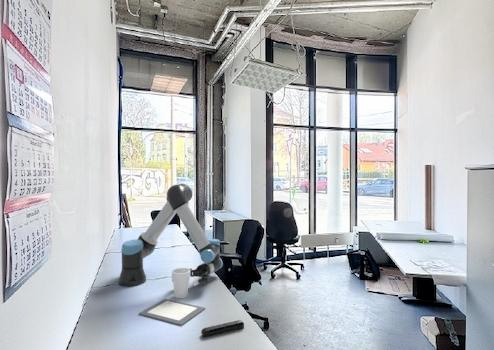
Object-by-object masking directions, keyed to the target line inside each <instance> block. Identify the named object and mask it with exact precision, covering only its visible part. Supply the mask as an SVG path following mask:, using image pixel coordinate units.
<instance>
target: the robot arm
mask: <svg viewBox="0 0 494 350" xmlns="http://www.w3.org/2000/svg"><path fill="white" fill-rule="evenodd" d="M193 195H194V194H193V189H192V187H190V185H188V184H186V183H179V184H173V185H171V186H170V187H169V188H168V190H167V192H166V203H165V204H164V205H163V207H162V208H161V210H160V211H159V212H158V214H157V216H155V219H153V221H152V222H151V224H150V225H149V226H148V228H147V229H146V231H143V232H141V234H139V236H138V237H137V239H130V240H127V241H125V242H123V243H122V244H121V251H120V252H121V271H120V273H119V274H120V275H119V278H118V285H119V286H122V287H134V286H139V285H141V284H145V282H146V281H147V275H146V273H145V270H144V259H145V258H146V257H149V256H150V255H152V253H154V251H155V249H156V246H157V245H158V243H159V242H158V239H159V237H161V234H163V232H164V231H165V229H166V228H167V227H168V225H169V224H170V222H171V221H172V220H173V218H174V217H175V215H176V214H177V216H178V217H179V219H180V221H181V222H182V224H183V227H184V228H185V229H186V231H187V232H188V234H189V236H190V238H191V239H192V242H194V245H195V246H196V248H197V250H198V251H199V253H200V259H201V261H202V262H203V263H201V264H199V265H197V266H196V268H195V269H193V268H191V267H190V268H189V269H190V277H193V278H194V277H197V278H196V279H194V280H193V282H192V283H193V284H192V285H193V287H196V286H197V285H199V284H200V283H208V282H209V280H210V278H211V274H213V273H216V272H217V271H219V270H220V269H221V268H222V267H223V265H224V263H223V260H222V258H221V254H220V253H221V251H220V250H221V243H220V239H219V238H218V239H217V238H210V239H208V237H207V235H206V234H205V232H204V230H203V228H202V227H201V225H200V223H199V222H198V220H197V218H196V216H195V214H194V213H193V212H192V210H191V208H190V206H189V204H190V203H189V202H190V201H191V200H192V198H193ZM171 282H172V283H173V277H172V276H171Z"/></svg>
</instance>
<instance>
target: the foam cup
mask: <svg viewBox="0 0 494 350" xmlns="http://www.w3.org/2000/svg"><path fill="white" fill-rule="evenodd" d="M172 277H173V282H172V284H173V291H174V296H175V298H177V299H185V298H186V297H188V292H189V285H190V277H191V276H190V268H187V267H179V268H175V269H173V270H172V271H171V278H172Z"/></svg>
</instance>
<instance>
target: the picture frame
mask: <svg viewBox="0 0 494 350" xmlns="http://www.w3.org/2000/svg"><path fill="white" fill-rule="evenodd" d="M205 310H206V307H204V306H198V305H194V304H190V303H186V302H181V301H176V300H172V299H167V298H163V299H162V300H160V301H158V302H157V303H154V304H152V305H151V306H150V307H147V308H146V309H144V310H142V311H140V312H139V313H138V315H140V316H143V317H147V318H151V319H154V320H159V321H162V322H166V323H168V324H169V323H170V324H173V325H176V326H181V327H182V326H184V325H186V324H187V323H188V322H190V321H191V320H192V319H194V318H195V317H196V316H198V315H199V314H201V313H202V312H203V311H205Z"/></svg>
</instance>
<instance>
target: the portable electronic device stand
mask: <svg viewBox="0 0 494 350" xmlns="http://www.w3.org/2000/svg"><path fill="white" fill-rule="evenodd" d="M244 328H245V323H244V322H243V321H242V320H240V319H238V320H234V321H229V322H225V323H221V324H216V325H212V326H211V325H210V326H208V327H203V328H202V330H201V332H200V333H201V335H202V337H203V338H205V339H206V338H209V337H213V336H217V335H222V334H226V333H230V332H235V331H238V330H241V329H244Z"/></svg>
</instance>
